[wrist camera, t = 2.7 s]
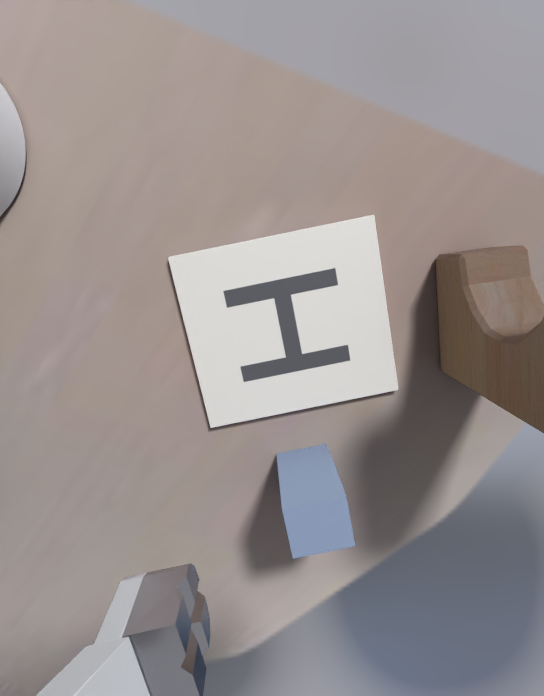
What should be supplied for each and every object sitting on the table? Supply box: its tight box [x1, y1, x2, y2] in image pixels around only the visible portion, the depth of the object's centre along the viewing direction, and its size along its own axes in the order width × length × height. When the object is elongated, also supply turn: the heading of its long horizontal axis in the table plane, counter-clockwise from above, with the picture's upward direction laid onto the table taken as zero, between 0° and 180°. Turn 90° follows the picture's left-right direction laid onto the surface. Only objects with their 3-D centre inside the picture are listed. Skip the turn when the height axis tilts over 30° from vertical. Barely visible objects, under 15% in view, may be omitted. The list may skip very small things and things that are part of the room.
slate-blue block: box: [276, 444, 355, 559], centre depth 36 cm, size 5×4×9 cm
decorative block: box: [436, 246, 544, 433], centre depth 28 cm, size 11×6×20 cm, turn 7°
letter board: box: [168, 215, 398, 428], centre depth 37 cm, size 18×16×1 cm
